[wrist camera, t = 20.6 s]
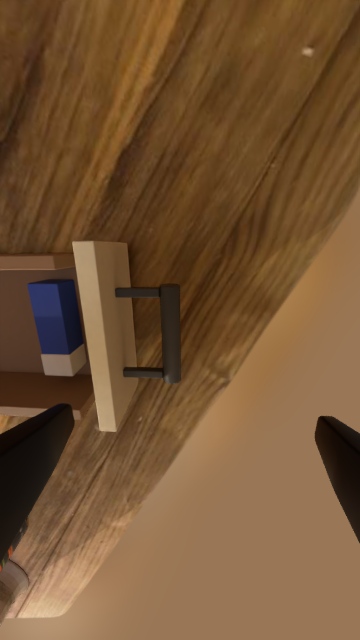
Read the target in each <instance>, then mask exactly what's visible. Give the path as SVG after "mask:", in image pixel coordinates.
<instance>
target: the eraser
mask: <svg viewBox="0 0 360 640" xmlns="http://www.w3.org/2000/svg"><path fill="white" fill-rule="evenodd" d="M27 287H28V291H29V296H30V301H31V305H32V310H33V315H34V319H35V324H36V329H37V333H38V338H39V342H40V347H41V352H42V354H41V359H42V363H43V368H44V372H45V375H53V376H74V375H75V374H76V373H77V372H78V371H79V370H80V369H81V368H82V367H83V366H84V365H85V364H86V362H87V360H86V354H85V347H84V343H83V337H82V330H81V324H80V317H79V310H78V304H77V297H76V291H75V284H74V280H73V279H47V280H42V281H37V282H32V283H28V284H27Z"/></svg>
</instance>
